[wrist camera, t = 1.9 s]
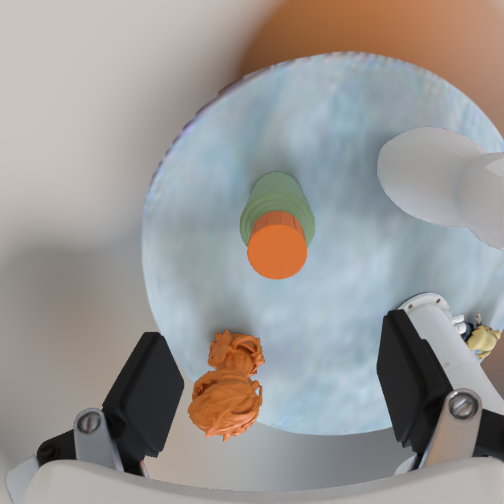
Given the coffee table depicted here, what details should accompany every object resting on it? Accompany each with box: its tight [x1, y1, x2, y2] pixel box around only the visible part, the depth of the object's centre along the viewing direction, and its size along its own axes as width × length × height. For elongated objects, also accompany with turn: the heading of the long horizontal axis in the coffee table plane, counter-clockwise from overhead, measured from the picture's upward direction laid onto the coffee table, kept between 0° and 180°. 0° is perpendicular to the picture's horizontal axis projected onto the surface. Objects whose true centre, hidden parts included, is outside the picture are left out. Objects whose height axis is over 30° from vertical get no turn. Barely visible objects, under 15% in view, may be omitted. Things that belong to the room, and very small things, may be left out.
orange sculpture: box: [188, 330, 265, 442], centre depth 38 cm, size 11×11×18 cm
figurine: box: [454, 313, 500, 360], centre depth 40 cm, size 10×6×15 cm
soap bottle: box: [377, 127, 504, 250], centre depth 19 cm, size 17×12×29 cm
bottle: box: [240, 172, 315, 248], centre depth 27 cm, size 6×6×18 cm
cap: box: [247, 211, 307, 279], centre depth 20 cm, size 4×4×4 cm
